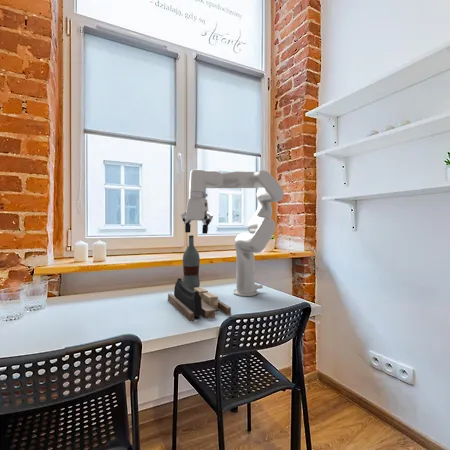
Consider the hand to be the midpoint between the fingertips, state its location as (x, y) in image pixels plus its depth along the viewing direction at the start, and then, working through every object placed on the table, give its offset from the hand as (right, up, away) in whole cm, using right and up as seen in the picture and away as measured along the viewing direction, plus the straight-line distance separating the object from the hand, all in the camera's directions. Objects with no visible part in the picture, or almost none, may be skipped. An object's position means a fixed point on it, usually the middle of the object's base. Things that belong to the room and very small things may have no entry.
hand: (196, 233), depth 139 cm
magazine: (-3, -33, -9) cm, 34 cm away
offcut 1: (+2, -33, +2) cm, 33 cm away
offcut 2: (+7, -33, -8) cm, 35 cm away
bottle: (-5, -32, +22) cm, 39 cm away
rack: (+1, -33, -6) cm, 33 cm away
